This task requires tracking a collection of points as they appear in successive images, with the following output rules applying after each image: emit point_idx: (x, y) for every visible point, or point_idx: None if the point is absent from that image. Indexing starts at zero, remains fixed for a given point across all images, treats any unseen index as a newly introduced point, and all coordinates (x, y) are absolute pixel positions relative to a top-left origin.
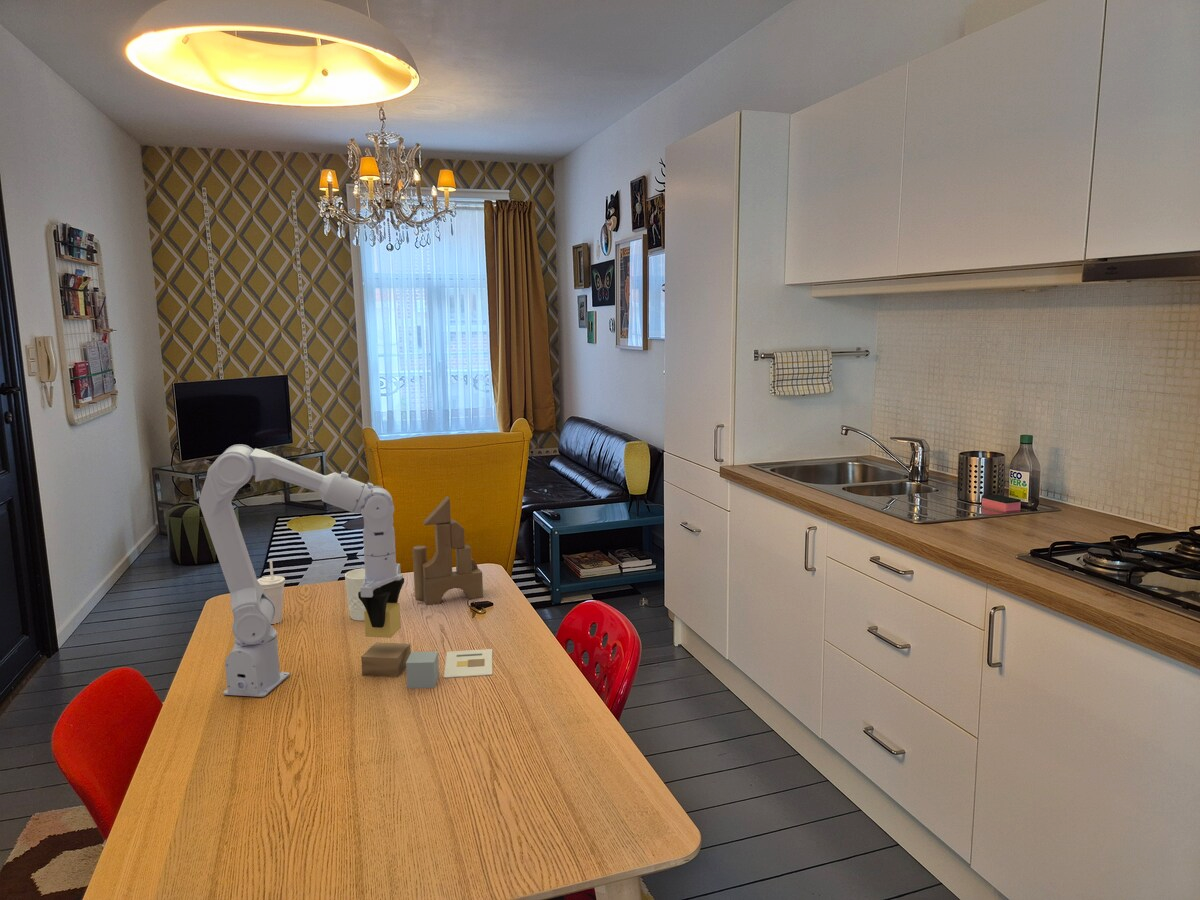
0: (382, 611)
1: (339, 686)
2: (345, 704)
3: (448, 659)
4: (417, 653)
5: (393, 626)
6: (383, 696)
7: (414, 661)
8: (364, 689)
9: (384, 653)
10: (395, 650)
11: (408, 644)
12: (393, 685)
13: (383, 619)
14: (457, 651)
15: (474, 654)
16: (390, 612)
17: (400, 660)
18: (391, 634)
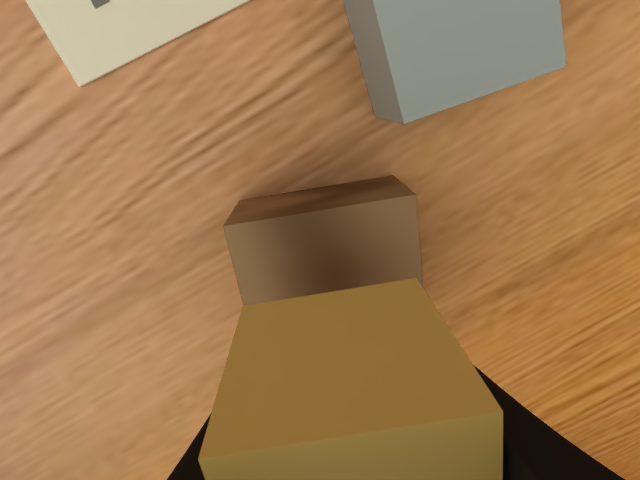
0: (605, 471)
1: (500, 332)
2: (636, 238)
3: (159, 28)
4: (419, 69)
5: (376, 317)
6: (568, 138)
7: (542, 20)
8: (515, 241)
9: (371, 283)
10: (326, 253)
11: (234, 230)
12: (468, 152)
13: (513, 399)
14: (50, 30)
15: None
16: (478, 407)
17: (366, 194)
18: (409, 288)
